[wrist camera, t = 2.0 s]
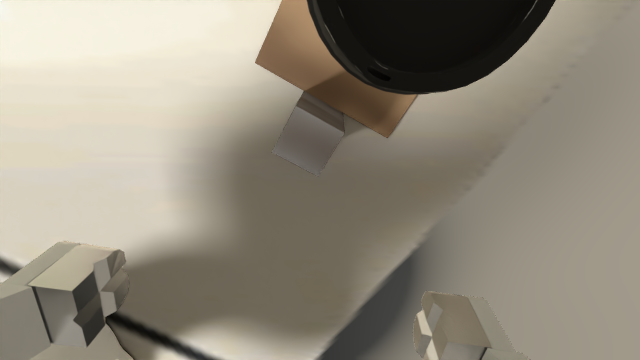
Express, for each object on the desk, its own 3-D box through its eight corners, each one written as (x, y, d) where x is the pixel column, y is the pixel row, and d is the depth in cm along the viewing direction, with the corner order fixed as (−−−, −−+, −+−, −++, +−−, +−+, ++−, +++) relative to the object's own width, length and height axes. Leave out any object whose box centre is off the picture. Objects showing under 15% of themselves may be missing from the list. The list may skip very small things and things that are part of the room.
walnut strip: (364, 170, 28) (371, 204, 22) (238, 102, 26) (211, 120, 20) (527, -73, 21) (598, -113, 15) (368, -195, 19) (382, -293, 13)
